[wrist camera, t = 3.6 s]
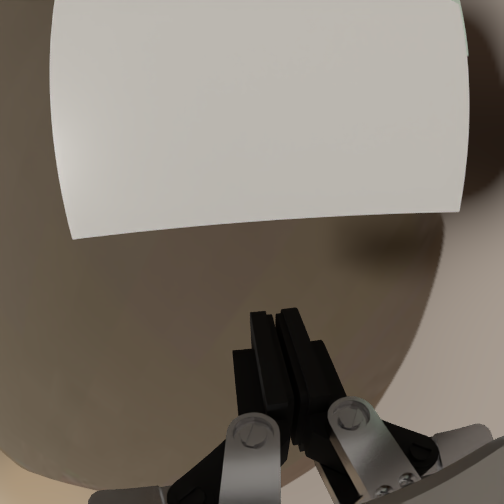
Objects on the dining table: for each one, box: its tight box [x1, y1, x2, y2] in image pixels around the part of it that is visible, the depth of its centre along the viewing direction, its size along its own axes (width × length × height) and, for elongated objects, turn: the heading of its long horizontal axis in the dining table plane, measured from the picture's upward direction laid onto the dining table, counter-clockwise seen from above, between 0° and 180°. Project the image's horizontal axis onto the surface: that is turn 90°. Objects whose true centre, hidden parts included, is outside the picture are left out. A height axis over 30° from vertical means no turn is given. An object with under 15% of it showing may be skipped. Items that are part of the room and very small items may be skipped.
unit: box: [50, 0, 469, 239], centre depth 8 cm, size 6×8×10 cm
